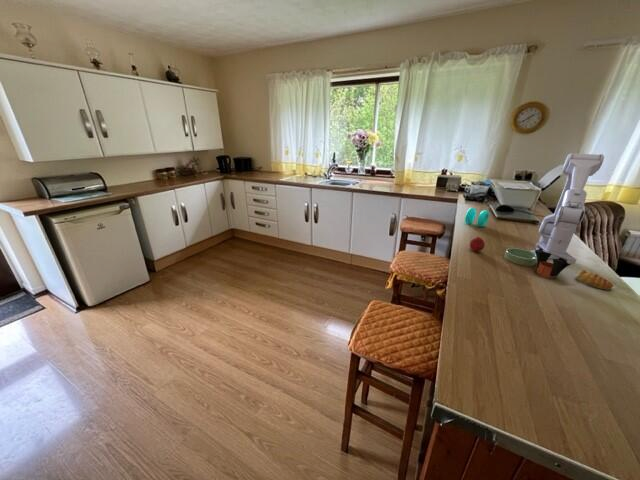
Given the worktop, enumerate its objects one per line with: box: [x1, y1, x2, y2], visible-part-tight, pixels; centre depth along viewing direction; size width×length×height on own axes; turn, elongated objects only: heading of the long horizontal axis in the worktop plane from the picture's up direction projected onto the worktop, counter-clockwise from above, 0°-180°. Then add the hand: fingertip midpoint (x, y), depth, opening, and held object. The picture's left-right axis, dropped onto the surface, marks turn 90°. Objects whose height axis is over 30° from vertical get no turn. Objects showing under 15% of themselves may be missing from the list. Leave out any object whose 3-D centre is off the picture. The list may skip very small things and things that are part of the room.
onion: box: [469, 235, 486, 253], centre depth 116 cm, size 6×6×8 cm
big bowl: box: [503, 247, 537, 267], centre depth 109 cm, size 11×11×4 cm
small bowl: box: [535, 261, 556, 279], centre depth 98 cm, size 6×6×4 cm
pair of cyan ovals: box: [464, 207, 490, 228], centre depth 150 cm, size 10×10×10 cm
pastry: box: [574, 269, 614, 291], centre depth 92 cm, size 9×7×4 cm
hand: (546, 271), depth 98 cm, fingers closed on small bowl, 5 cm apart
